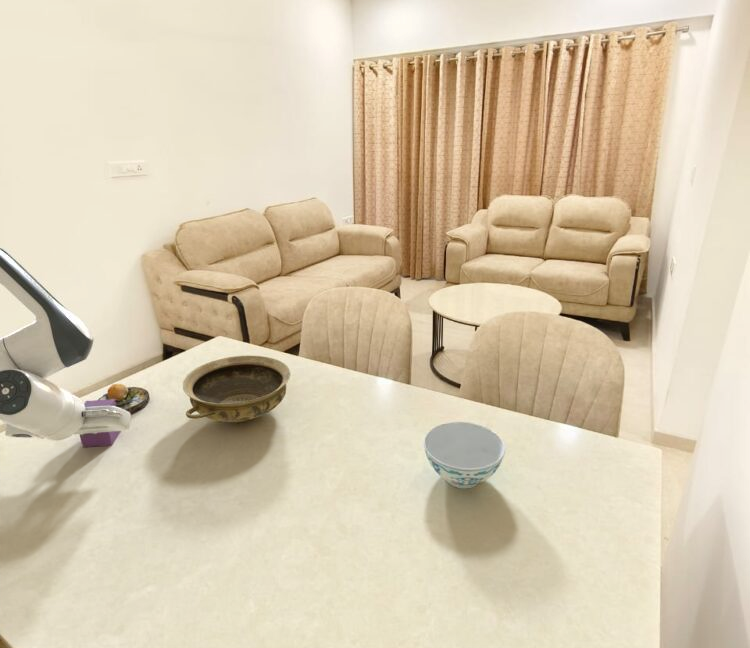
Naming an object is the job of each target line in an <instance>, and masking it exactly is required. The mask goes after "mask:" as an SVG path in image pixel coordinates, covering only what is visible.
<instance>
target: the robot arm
mask: <svg viewBox="0 0 750 648" xmlns="http://www.w3.org/2000/svg"><path fill="white" fill-rule="evenodd" d="M0 284H1V285H2V286H3V287H4V288H5V289H6V290H7V291H9V292H10V293H11V294H12V295H13V296H14V297H15V298H16V299H17V300H18V301H19V302H20V303H21V304H22V305H24V307H26V309H27V310H29V312H31V313H32V314H33V315H34V317H35V319H34V320H33V322H31V323H29V324H27V325H25V326H23V327H21V328H18V329H17V330H15V331H13V332H11V333H10V334H7V335H5V336H2V337H0V421H1V422H3V423H5V434H4V435H5V436H7V437H9V438H20V439H21V438H22V439H34V438H36V439H42V440H43V439H46V440H49V441H62V440H65V439H69V438H70V437H72V436H73V435H74V436H75V435H80V434H81V435H89V434H97V433H100V432H113V431H121V432H125V431H127V430H129V429H130V426H131V420H132V415H131V414H132V413H129V412H128V411H126V410H124V409H121V408H119V407H115V406H96V407H85V405H84V403H85V402H83V400H82V399H81V398H80V397H78V396H76V395H75V394H73V393H71V392H69V391H68V390H66V389H64V388H61V387H59V386H58V385H57V384H55V383H54V382H52V381H50V380H48V379H47V378H49V377H51V376H54V375H55V374H57V373H58V372H60V371H62V370H64V369H65V368H66V369H67V368H71V367H72V366H74V365H77V364H79V363H81V362H83V361H85V360H87V358H88V357H89V355H90V353H91V351H92V348H93V345H94V344H93V343H94V337H93V335H92V332H91V331H90V329H89V327H88V326H87V325H86V324H85V322H84V321H83V320H81V318H80V317H78V316H76V315H75V314H74V313H72V312H71V311H70V310H68V308H67V307H65V306H64V305H63V304H62V303H61V302H60V301H59V300H58V299H56V297H55V296H54V295H52V294H51V293H50V291H48V290H47V288H45V287H44V286H43V285H42V284H41V283H40V282H39V281H38V280H37V279H36V278H35V277H34V276H33V275H32V274H30V272H28V271H27V269H25V267H23V266H22V264H21V263H19V262H18V261H17V260H16V259H15V258H14V257H13V256H12V255H10V253H8V252H7V251H6V250H5V249H4V248H3V247H1V246H0Z"/></svg>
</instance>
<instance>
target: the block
mask: <svg viewBox="0 0 750 648" xmlns="http://www.w3.org/2000/svg"><path fill="white" fill-rule="evenodd" d="M83 403H84V405H85V407H96V406H115V407H116V403H115V399H110V400H98V399H97V400H86V401H84V402H83ZM121 432H122V431H113V432H100V433H97V434H89V435H81V434H79V437H80V441H81V445H82V448H93V447H104V446H105V447H106V446H113V445H114V443H115V441H116V440H117V439H118V437H119V435H120V433H121Z"/></svg>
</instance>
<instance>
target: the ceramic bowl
mask: <svg viewBox="0 0 750 648" xmlns="http://www.w3.org/2000/svg"><path fill="white" fill-rule="evenodd" d="M290 377H291V370H290V368H289V366H288V365H287V364H286V363H284V362H282V361H281V360H278V359H276V358H273V357H268V356H262V355H250V354H249V355H235V356H234V355H233V356H229V357H224V358H220V359H215V360H211V361H209V362H207V363H204V364H202V365H200V366H198V367H196V368H194V369H193V370H192V371H190V372H189V373H188V374H187V375H186V376H185V377H184V379H183V382H182V390H183V392H184V394H185V395H187V396H188V397H189V402H190V404H191V407H192V408H189V409H188V410H187V411H186V412H185V416H186V418H188V419H191V420H199V419H203V418H206V419H210V420H213V421H215V422H223V423H226V422H228V423H244V422H245V423H246V422H248V421H251V420H253V419H256V418H259V417H261V416H263V415H266V414H268V413H269V412H271V411H273V410H274V409H276V407H277V406H279V404H281V403H282V401H283V400H284V398H285V396H286V394H287V383H288V382H289V381H290ZM193 413H197V414H193Z"/></svg>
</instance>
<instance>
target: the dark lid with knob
mask: <svg viewBox="0 0 750 648" xmlns="http://www.w3.org/2000/svg"><path fill="white" fill-rule="evenodd" d="M110 399H115V403H116V407H119V408H121V409H124V410H126V411H128V412H129V413H130V414H132V413H136V412H137V411H139V410H141V409H144V407H145V406H146V405H148V404H149V402H150V393H149V391H148V390H147V389H146V388H143V387H138V386H130V387H129V386H128V387H127V385H126V384H122V383H114V384H113V383H111V386H110V387H108V389H107V392H106V393H104V394H103V395H102V396H101V397H99V398H98V399H97V400H110Z"/></svg>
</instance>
